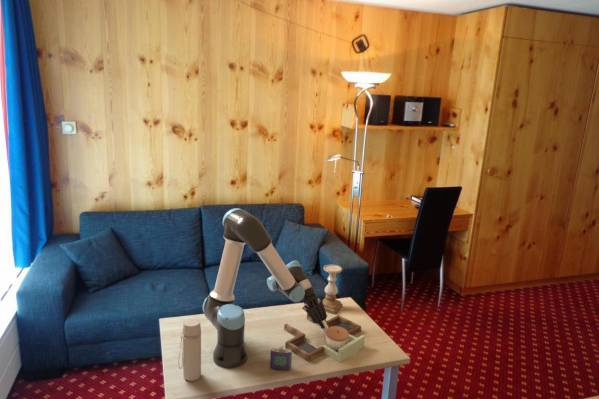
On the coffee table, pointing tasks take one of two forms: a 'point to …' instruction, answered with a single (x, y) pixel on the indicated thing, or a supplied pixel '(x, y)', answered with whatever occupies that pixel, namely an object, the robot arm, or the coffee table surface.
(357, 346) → the track
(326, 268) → the candle holder
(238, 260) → the robot arm
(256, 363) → the coffee table surface
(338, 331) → the lidded jar
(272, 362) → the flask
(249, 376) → the coffee table surface
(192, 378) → the water bottle
